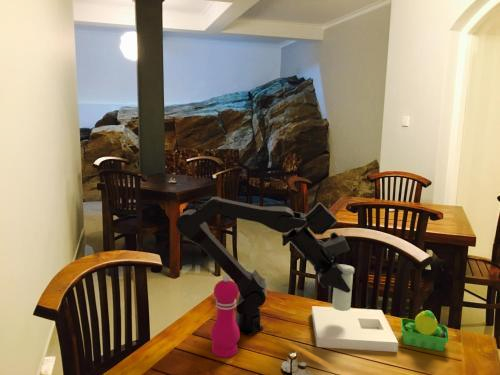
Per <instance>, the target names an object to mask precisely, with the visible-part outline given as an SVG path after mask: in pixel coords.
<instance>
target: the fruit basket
mask: <svg viewBox="0 0 500 375" xmlns="http://www.w3.org/2000/svg"><path fill="white" fill-rule="evenodd" d="M400 320H401V321H400V322H401V323H400V331H401V334H402V340H403V341H402V342H403V344H404V345H408V346H414V347H417V348H418V347H419V348H424V349H428V350H434V351H438V352H443V351H444V349H445V347H446V345H447V343H448V342H449V340H450V336H449V330H448V329H449V328H448V327H447V325H444V324H439V322H438V321H437V318H436V316H435V314H434V313H433V312H432V311H430V310H428V309H427V310H422V311H421V312H420V313H418V314H417V315H416V316H415V318H414V319H410V318H405V317H403V318H401V319H400Z"/></svg>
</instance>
